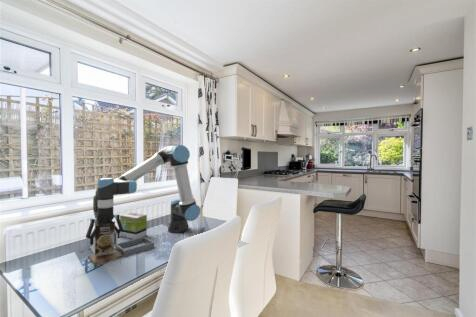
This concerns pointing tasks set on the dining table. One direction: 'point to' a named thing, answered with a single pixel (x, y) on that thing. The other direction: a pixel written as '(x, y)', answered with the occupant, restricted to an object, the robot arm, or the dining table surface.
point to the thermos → (95, 205)
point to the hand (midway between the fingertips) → (105, 247)
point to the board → (104, 258)
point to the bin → (120, 247)
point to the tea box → (133, 225)
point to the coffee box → (104, 239)
